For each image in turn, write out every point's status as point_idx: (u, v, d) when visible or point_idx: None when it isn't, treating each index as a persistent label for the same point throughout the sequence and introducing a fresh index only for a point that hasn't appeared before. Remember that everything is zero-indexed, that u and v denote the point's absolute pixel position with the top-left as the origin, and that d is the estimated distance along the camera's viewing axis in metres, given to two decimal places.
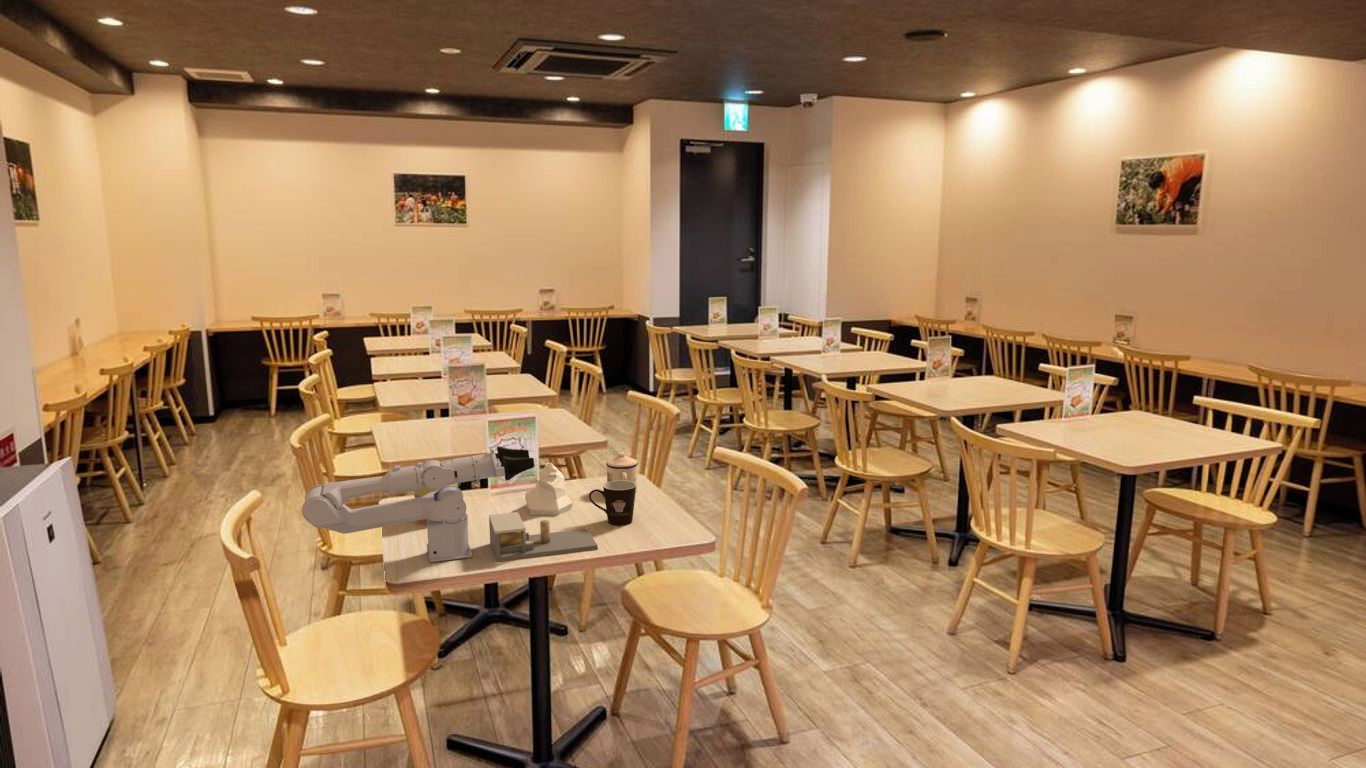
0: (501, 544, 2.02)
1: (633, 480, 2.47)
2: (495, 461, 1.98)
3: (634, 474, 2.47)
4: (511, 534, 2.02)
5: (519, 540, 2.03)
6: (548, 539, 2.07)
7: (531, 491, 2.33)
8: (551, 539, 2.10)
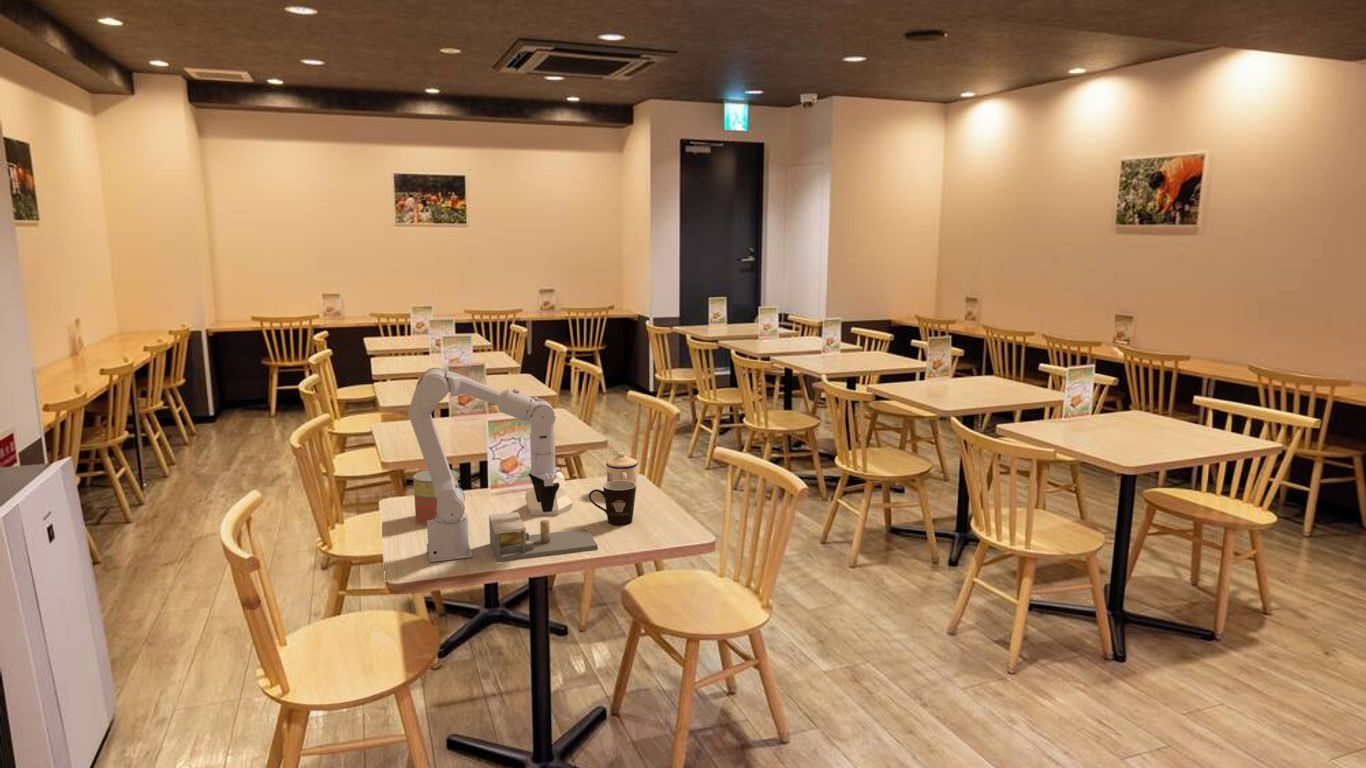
0: (501, 544, 2.02)
1: (633, 480, 2.47)
2: (554, 475, 2.01)
3: (634, 474, 2.47)
4: (511, 534, 2.02)
5: (519, 540, 2.03)
6: (548, 539, 2.07)
7: (531, 491, 2.33)
8: (551, 539, 2.10)
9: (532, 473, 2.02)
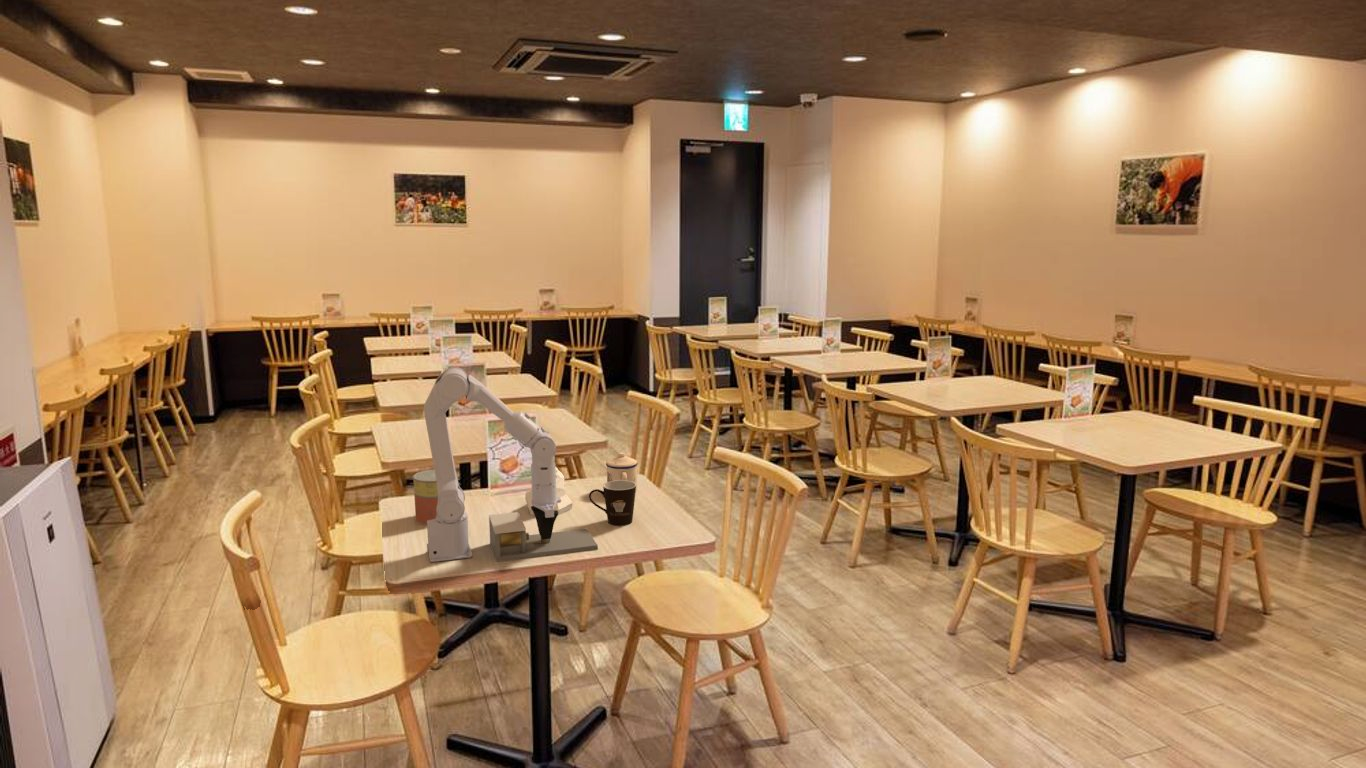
0: (501, 544, 2.02)
1: (633, 480, 2.47)
2: (554, 506, 2.03)
3: (634, 474, 2.47)
4: (511, 534, 2.02)
5: (519, 540, 2.03)
6: (548, 539, 2.07)
7: (531, 491, 2.33)
8: (551, 539, 2.10)
9: (533, 504, 2.04)
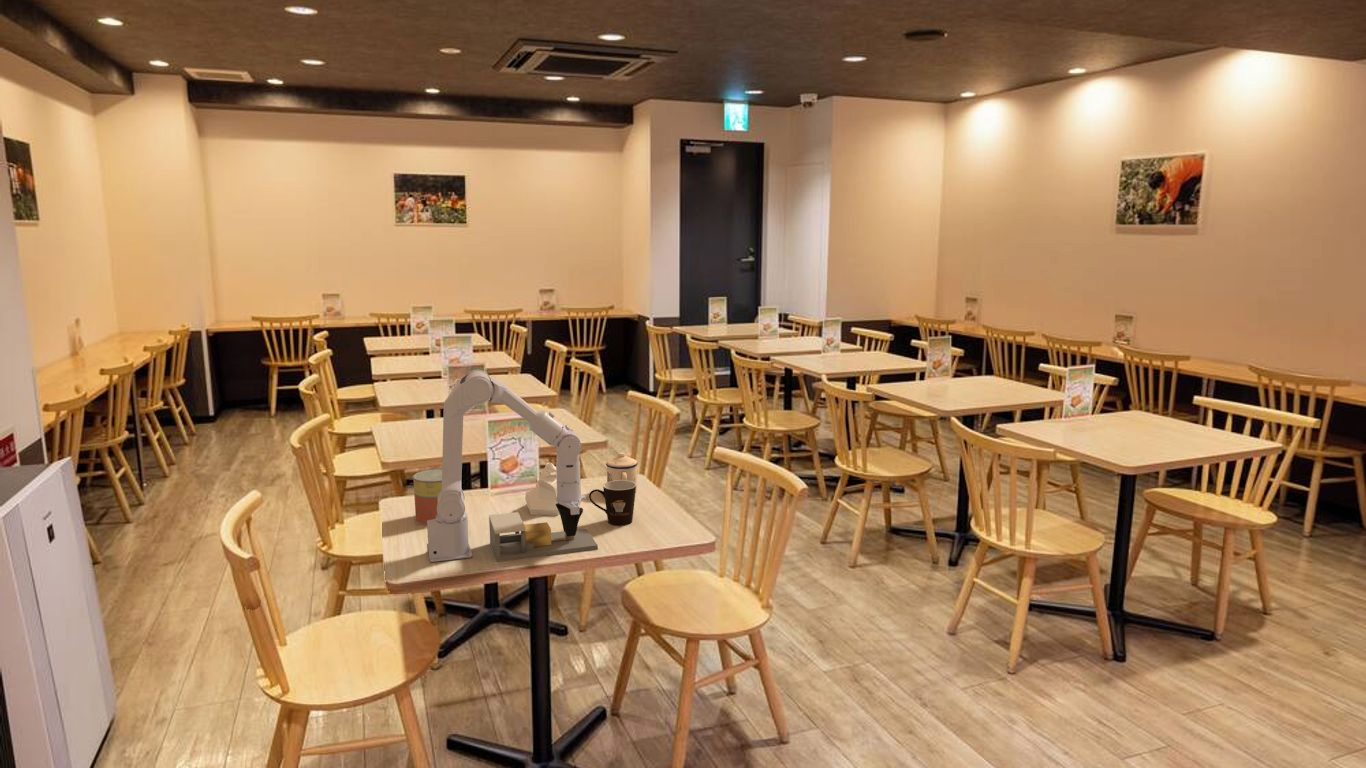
0: (527, 541, 2.04)
1: (633, 480, 2.47)
2: (579, 503, 2.05)
3: (634, 474, 2.47)
4: (536, 531, 2.04)
5: (544, 537, 2.05)
6: (572, 536, 2.09)
7: (531, 491, 2.33)
8: None
9: (558, 501, 2.06)
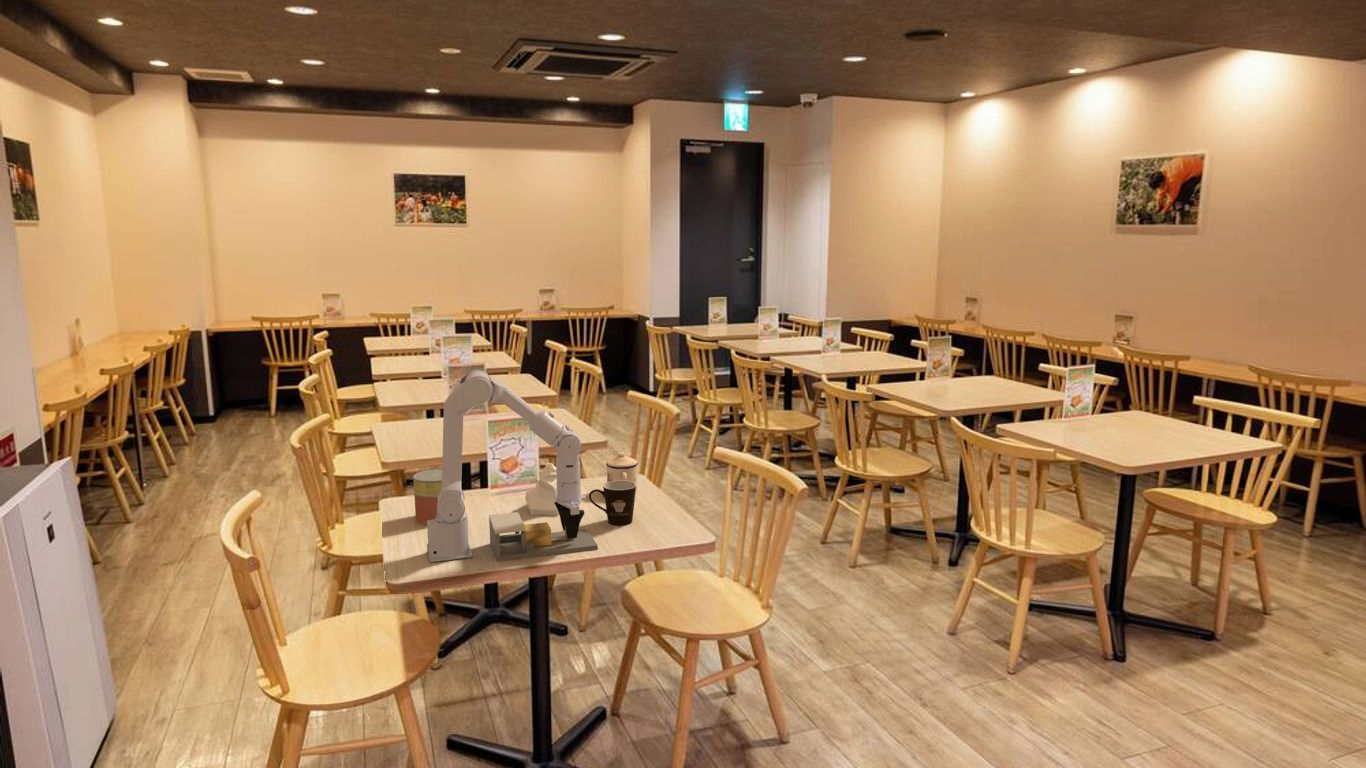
0: (527, 541, 2.04)
1: (633, 480, 2.47)
2: (579, 503, 2.05)
3: (634, 474, 2.47)
4: (536, 531, 2.04)
5: (544, 537, 2.05)
6: None
7: (531, 491, 2.33)
8: None
9: (558, 501, 2.06)
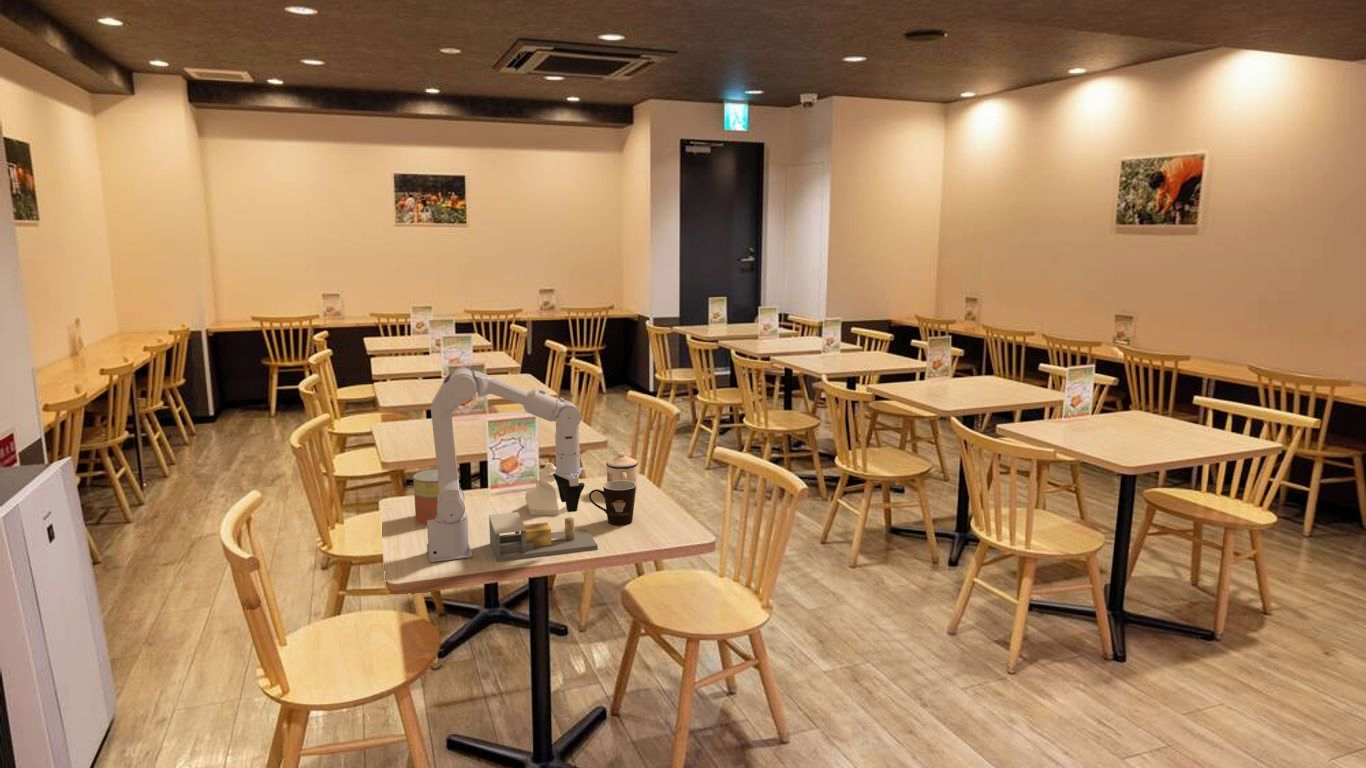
0: (527, 541, 2.04)
1: (633, 480, 2.47)
2: (578, 475, 2.04)
3: (634, 474, 2.47)
4: (536, 531, 2.04)
5: (544, 537, 2.05)
6: (572, 536, 2.09)
7: (531, 491, 2.33)
8: None
9: (557, 473, 2.05)
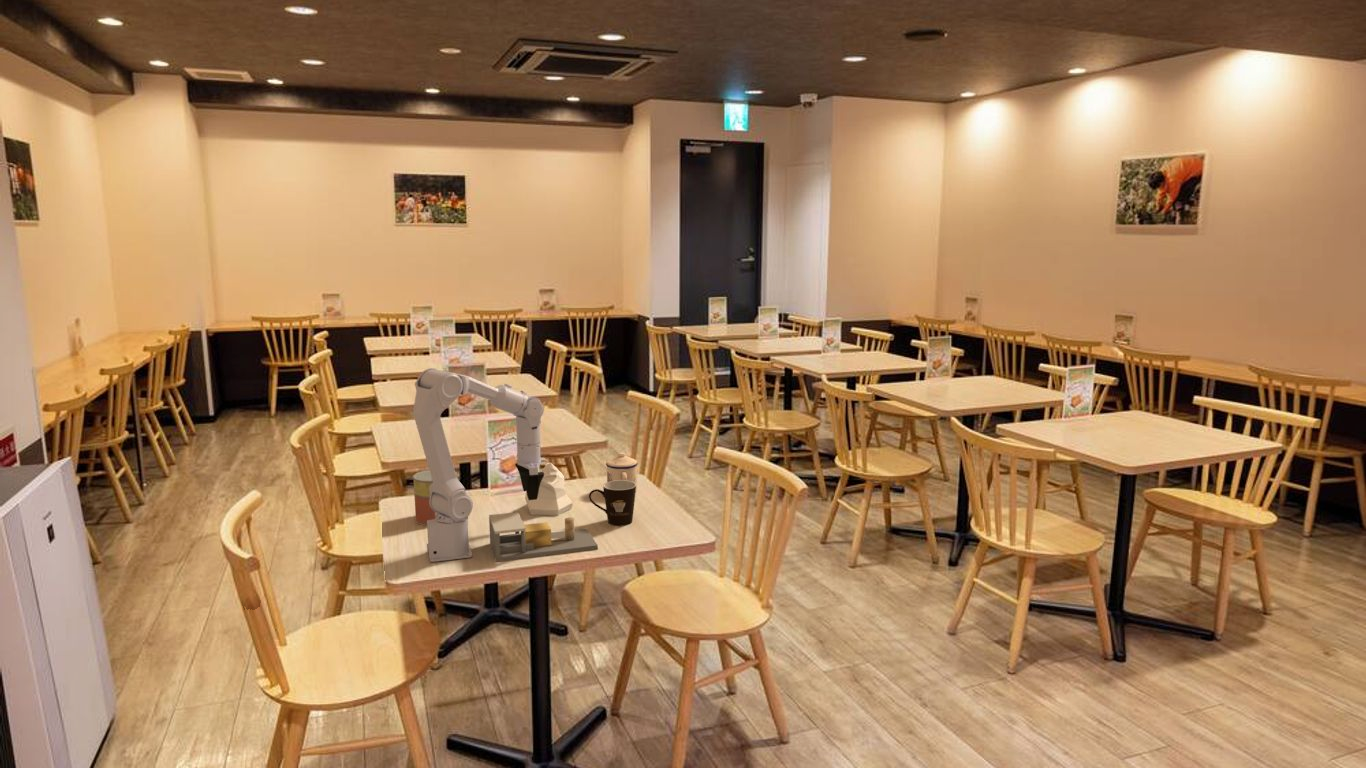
0: (527, 541, 2.04)
1: (633, 480, 2.47)
2: (538, 464, 2.12)
3: (634, 474, 2.47)
4: (536, 531, 2.04)
5: (544, 537, 2.05)
6: (572, 536, 2.09)
7: None
8: None
9: (518, 463, 2.13)
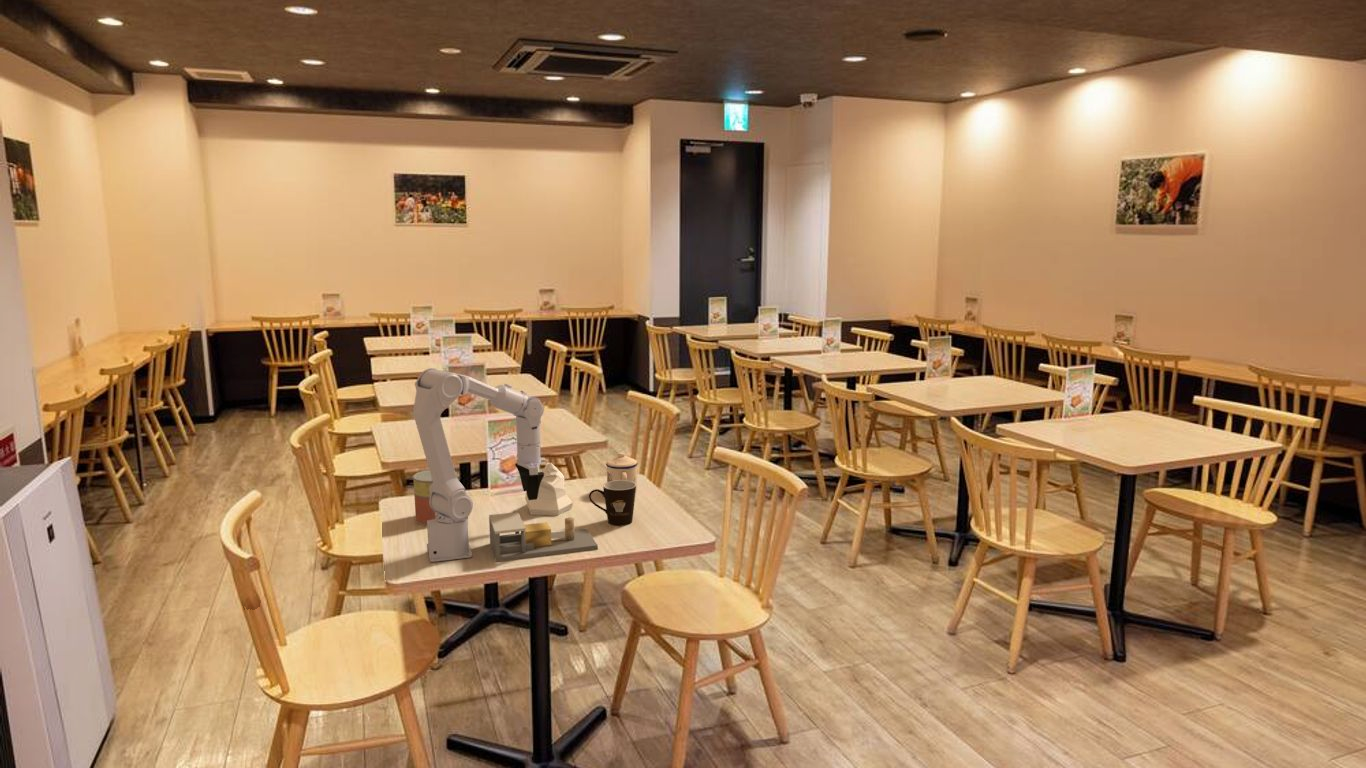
0: (527, 541, 2.04)
1: (633, 480, 2.47)
2: (538, 464, 2.12)
3: (634, 474, 2.47)
4: (536, 531, 2.04)
5: (544, 537, 2.05)
6: (572, 536, 2.09)
7: None
8: None
9: (518, 463, 2.13)
